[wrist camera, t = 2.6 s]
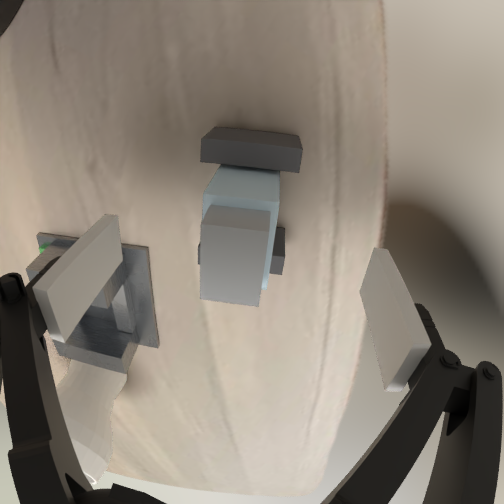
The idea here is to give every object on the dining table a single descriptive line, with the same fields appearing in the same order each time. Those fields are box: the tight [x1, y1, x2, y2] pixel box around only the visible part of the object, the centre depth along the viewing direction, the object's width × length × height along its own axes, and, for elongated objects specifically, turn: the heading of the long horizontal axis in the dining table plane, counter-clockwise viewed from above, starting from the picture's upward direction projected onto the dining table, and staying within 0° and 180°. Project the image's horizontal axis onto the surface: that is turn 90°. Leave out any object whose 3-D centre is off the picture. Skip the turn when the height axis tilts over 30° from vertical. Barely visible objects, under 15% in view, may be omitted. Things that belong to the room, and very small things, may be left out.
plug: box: [200, 164, 280, 307], centre depth 18 cm, size 5×4×10 cm
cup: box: [56, 359, 127, 484], centre depth 30 cm, size 11×11×15 cm
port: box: [26, 233, 159, 374], centre depth 27 cm, size 12×12×5 cm
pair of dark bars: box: [198, 127, 303, 275], centre depth 21 cm, size 8×6×4 cm, turn 175°
